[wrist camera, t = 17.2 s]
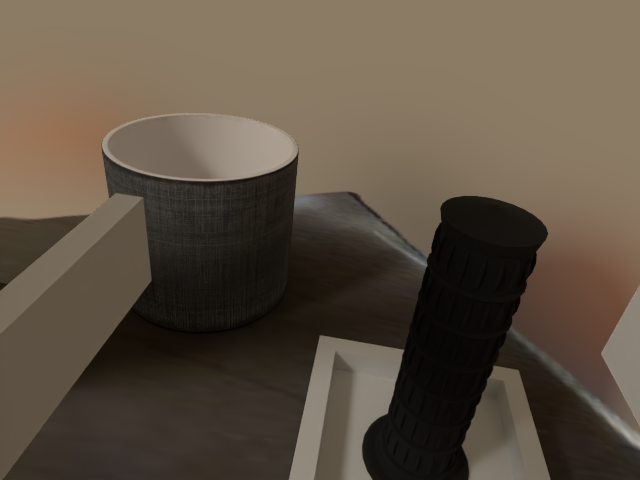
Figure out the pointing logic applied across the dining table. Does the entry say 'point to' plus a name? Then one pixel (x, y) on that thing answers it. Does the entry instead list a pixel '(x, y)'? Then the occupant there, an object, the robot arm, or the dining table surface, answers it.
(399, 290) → the dining table surface
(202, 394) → the dining table surface
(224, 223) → the planter
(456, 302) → the ribbed tower figurine
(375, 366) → the tray
